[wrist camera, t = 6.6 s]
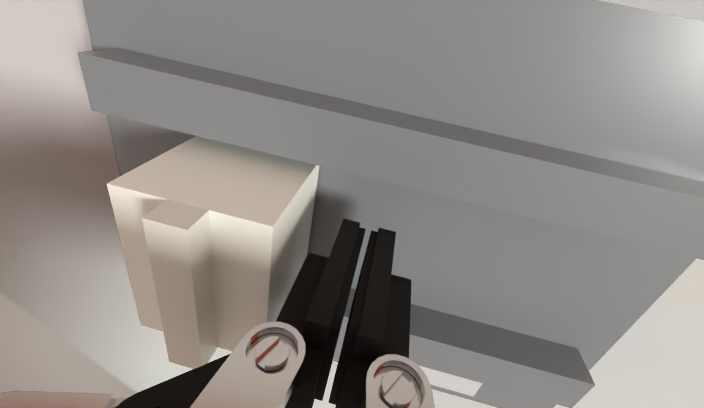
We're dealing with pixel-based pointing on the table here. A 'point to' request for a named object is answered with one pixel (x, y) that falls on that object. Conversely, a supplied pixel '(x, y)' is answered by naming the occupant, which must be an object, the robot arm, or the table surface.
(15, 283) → the table surface
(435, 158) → the switch panel
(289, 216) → the switch tab
